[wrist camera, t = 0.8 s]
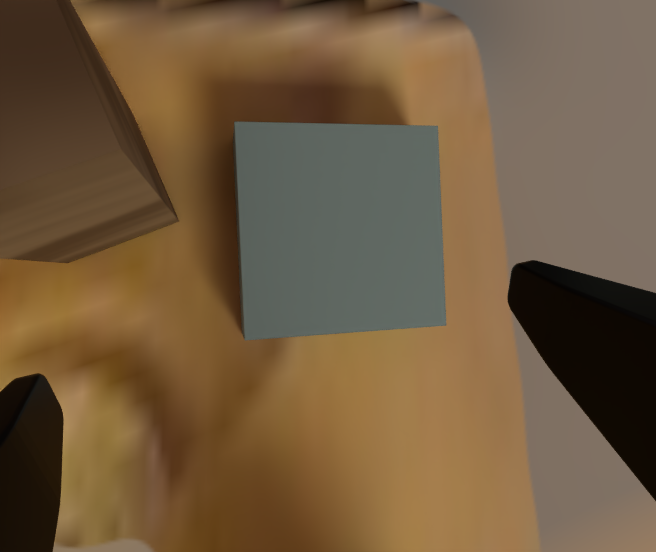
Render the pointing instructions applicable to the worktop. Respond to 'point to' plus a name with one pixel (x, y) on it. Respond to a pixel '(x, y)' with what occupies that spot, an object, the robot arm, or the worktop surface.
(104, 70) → the walnut pillar
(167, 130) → the worktop surface
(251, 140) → the base block
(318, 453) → the worktop surface
